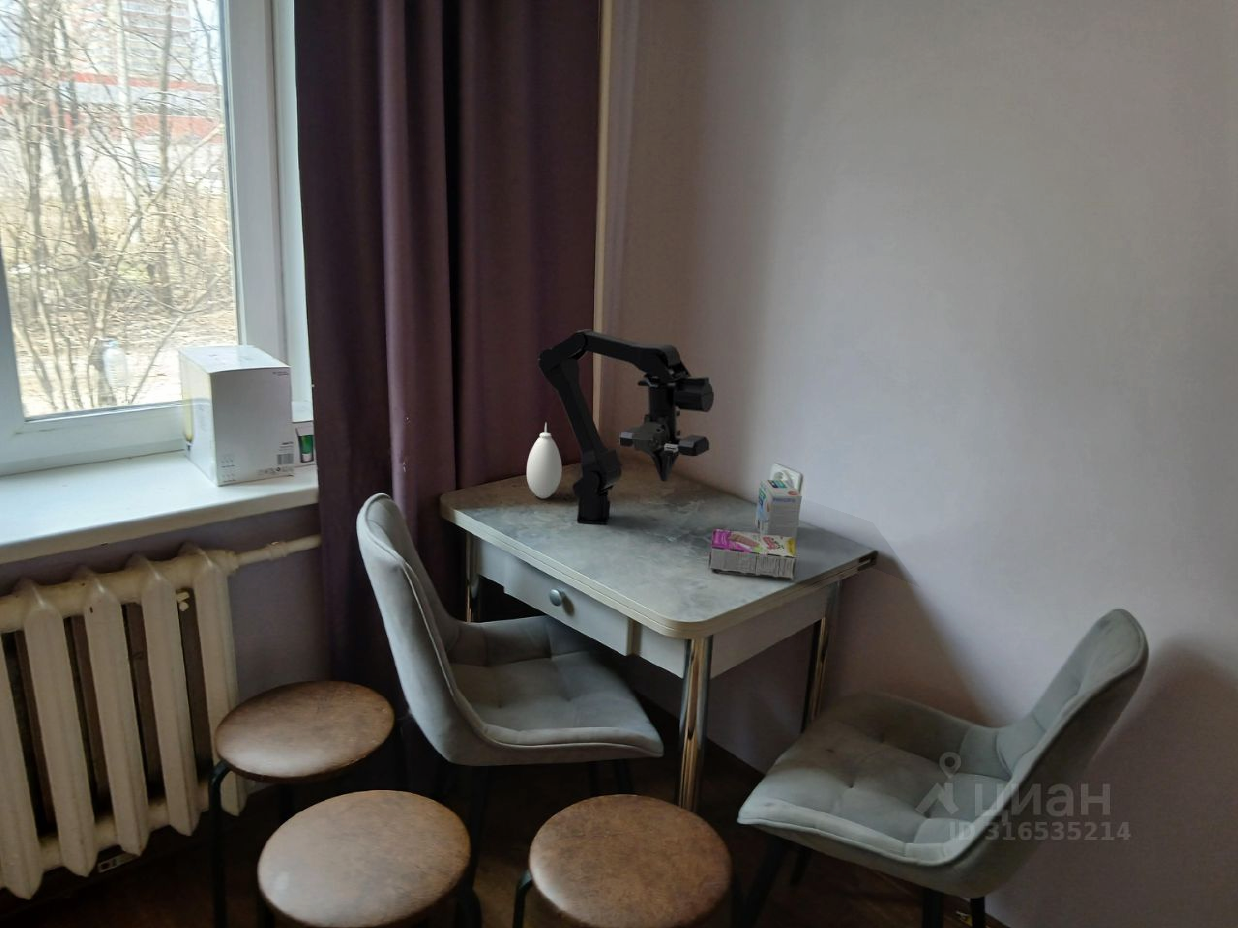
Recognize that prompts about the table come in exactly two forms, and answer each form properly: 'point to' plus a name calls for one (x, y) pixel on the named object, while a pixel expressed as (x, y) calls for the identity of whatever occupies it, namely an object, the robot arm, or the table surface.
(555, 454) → the white air blower bulb
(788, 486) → the light bulb box
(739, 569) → the candy bar box
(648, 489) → the table surface
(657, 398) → the robot arm
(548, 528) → the table surface
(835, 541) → the table surface
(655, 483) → the table surface
